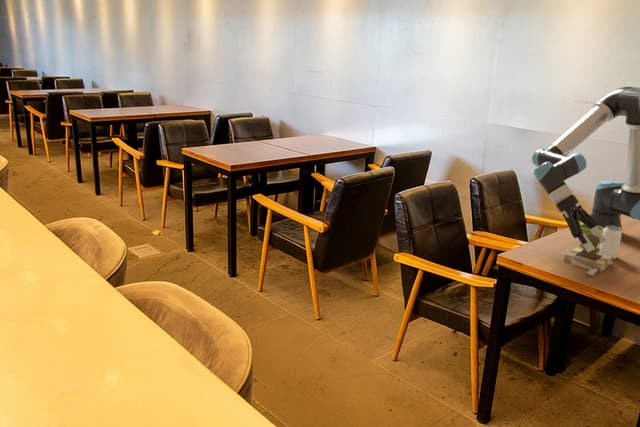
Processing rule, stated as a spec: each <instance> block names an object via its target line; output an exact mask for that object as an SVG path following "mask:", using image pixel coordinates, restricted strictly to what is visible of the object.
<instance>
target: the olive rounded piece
mask: <svg viewBox="0 0 640 427" xmlns="http://www.w3.org/2000/svg"><path fill="white" fill-rule="evenodd" d="M586 236H587V238H588V239H589V241H590V242H591V243H592V245H593V246H594V248H595V249H594V250H592V251H590V252H587V250H586V249H585V248H583V251H582V253H581V256H580V257H584V258H587V259H591V260H594V261H596V257H597V252H598V246H599V245H600V243H599V242H600V239H599V237H598V236H595V235H586Z"/></svg>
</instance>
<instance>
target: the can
mask: <svg viewBox="0 0 640 427" xmlns="http://www.w3.org/2000/svg"><path fill="white" fill-rule="evenodd" d="M621 230H622V231H621ZM603 236H604V237H605V238H606V240H607V241H605V242H603V243H601V244H600V243H599V249H598V253H602V254H606V255H609V256H613V257H612V260H615V259H617V258H618V253H619V249H620V245H621V244H620V243H621V240H622V236H623V228H622V229H621V228H620V227H617V226H612V225H607V226H606V227H605V229H604V230H603Z"/></svg>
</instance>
